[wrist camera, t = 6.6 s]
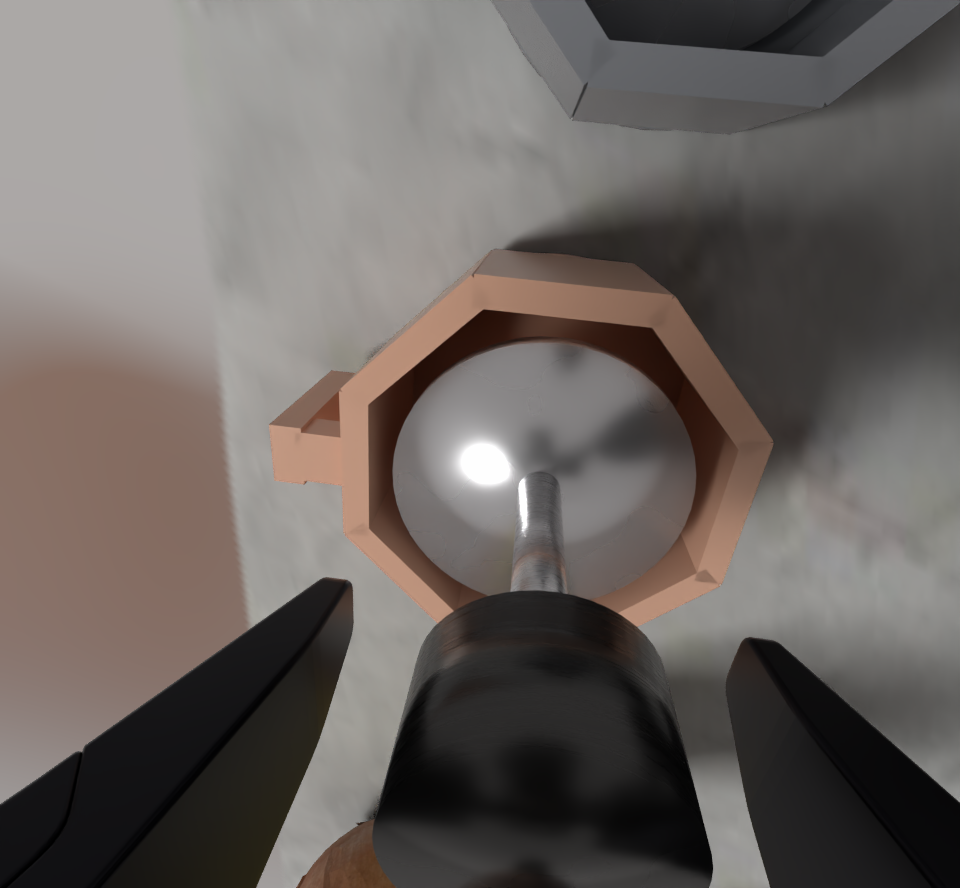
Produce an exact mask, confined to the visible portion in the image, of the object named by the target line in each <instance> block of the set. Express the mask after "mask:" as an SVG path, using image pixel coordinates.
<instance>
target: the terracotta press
mask: <svg viewBox="0 0 960 888" xmlns="http://www.w3.org/2000/svg"><path fill="white" fill-rule="evenodd" d="M535 336H549V337H564V338H569V339H575V340H581V341H585V342H588V343H591V344H594V345H597V346H601V347H604V348H606V349H608V350H610V351H612V352H614V353H616V354H618V355H620V356H622V357H624V358H626V359H627V360H629V361H630V362H632V363H633V364H635V365H636V366H638V367H639V368H640V369H642V370H643V371H644V372H645V373H646V374H647V375H648V376H650V377H651V378H652V379H653V380H654V381H655V382H656V383H657V384H658V386H659V387H660V388H661V389H662V390H663V391H664V393H665V394H666V395H667V396H668V398H669V400H670V401H671V403H672V404H673V406H674V408H675V409H676V411H677V412H678V414H679V416H680V417H681V419H682V421H683V423H684V425H685V427H686V430H687V432H688V435H689V437H690V440H691V444H692V448H693V452H694V456H695V465H696V486H695V495H694V499H693V503H692V508H691V511H690V514H689V516H688V519H687V521H686V524H685V526H684V528H683V530H682V531H681V533H680V535H679V537H678V538H677V540H676V542H675V543H674V544H673V545H672V547H671V548H670V549H669V551H668V552H667V553H666V554H665V556H664V557H662V558H661V559H660V560H659V561H658V562H657V563H656V564H655V565H654V566H653V567H652V568H651V569H650V570H648V571H647V572H646V573H645V574H643V575H642V576H641V577H639V578H638V579H636V580H634V581H633V582H631V583H629V584H628V585H626V586H624V587H622V588H620V589H618V590H616V591H614V592H611V593H609V594H607V595H604V596H601V597H598V598H594V599H591V601H594V602H596V603H598V604H601V605H603V606H605V607H608V608H609V609H611V610H613V611H615V612H616V613H618V614H620V615H622V616H623V617H625V618H626V619H627V620H629V621H630V622H631V623H633V624H634V625H635V626H636V627H638V626H640V625H642V624H644V623H646V622H648V621H650V620H652V619H654V618H656V617H658V616H660V615H662V614H664V613H666V612H668V611H670V610H673V609H675V608H677V607H679V606H681V605H683V604H685V603H687V602H689V601H691V600H693V599H695V598H697V597H699V596H701V595H703V594H705V593H707V592H709V591H711V590H713V589H715V588H718V587H720V585H719V584H721V585H722V583H723V580H724V577H725V574H726V572H727V569H728V566H729V564H730V561H731V558H732V556H733V553H734V550H735V547H736V545H737V542H738V539H739V537H740V534H741V531H742V529H743V526H744V523H745V520H746V518H747V515H748V512H749V510H750V507H751V504H752V502H753V499H754V496H755V493H756V491H757V488H758V485H759V483H760V480H761V477H762V475H763V472H764V469H765V466H766V464H767V461H768V458H769V456H770V453H771V450H772V448H773V445H774V443H773V439H772V438H771V437H770V435H769V434H768V432H767V431H766V429H765V428H764V426H763V425H762V423H761V422H760V420H759V419H758V417H757V416H756V414H755V413H754V411H753V410H752V409H751V407H750V406H749V404H748V403H747V401H746V400H745V398H744V397H743V395H742V394H741V392H740V391H739V389H738V388H737V386H736V385H735V383H734V382H733V381H732V379H731V378H730V376H729V375H728V373H727V372H726V370H725V369H724V367H723V366H722V364H721V363H720V361H719V360H718V358H717V357H716V355H715V354H714V353H713V351H712V350H711V348H710V347H709V345H708V344H707V342H706V341H705V339H704V338H703V336H702V335H701V333H700V332H699V330H698V329H697V327H696V326H695V325H694V323H693V322H692V320H691V319H690V317H689V316H688V314H687V313H686V311H685V310H684V308H683V307H682V305H681V304H680V302H679V301H678V299H677V298H676V297H675V296H674V295H673V294H672V293H670V292H669V291H668V290H667V289H665V288H664V287H663V286H662V285H661V284H659V283H658V282H657V281H656V280H654V279H653V278H652V277H651V276H649V275H648V274H647V273H646V272H644V271H643V270H642V269H641V268H639V267H638V266H637V265H636V264H634V263H627V262H617V261H607V260H598V259H588V258H585V257H581V256H575V255H569V254H563V253H530V252H520V251H511V250H501V249H494V250H491V251H490V252H489V253H487V254H486V255H485V256H484V257H483V258H482V259H481V260H479V261H478V262H477V263H476V264H475V265H474V266H473V267H471V268H470V269H469V270H468V271H467V272H466V273H465V274H463V275H462V276H461V277H460V278H459V279H458V280H457V281H455V282H454V283H453V284H452V285H451V286H450V287H448V288H447V289H446V290H444V291H443V292H442V293H441V294H440V295H439V296H438V297H437V298H436V299H435V300H434V301H433V302H431V303H430V304H429V305H428V306H427V307H426V308H425V309H423V310H422V311H421V312H420V313H419V314H418V315H417V316H415V317H414V318H413V319H412V320H411V321H410V322H409V323H407V324H406V325H405V326H404V327H403V328H402V329H401V330H399V331H398V332H397V333H396V334H395V335H394V336H393V337H392V338H391V339H390V340H389V341H388V342H387V343H386V344H385V345H384V346H383V347H382V348H381V349H380V350H379V351H378V352H377V353H376V354H375V355H374V356H373V357H372V358H371V359H370V360H369V361H368V362H367V363H366V364H365V365H364V366H363V367H362V368H361V369H360V370H359V371H358V372H356V373H349V372H340V371H331V372H329V373H328V374H327V375H326V376H325V377H324V378H322V379H321V380H320V381H319V382H318V383H317V384H315V385H314V386H313V387H312V388H311V389H310V390H309V391H307V392H306V393H305V394H304V395H303V396H302V397H300V398H299V399H298V400H297V401H296V402H295V403H294V404H292V405H291V406H290V407H289V408H288V409H287V410H285V411H284V412H283V413H282V414H281V415H280V416H278V417H277V418H276V419H275V420H274V421H273V422H272V423H270V424H269V429H270V439H271V449H272V459H273V470H274V480H275V481H282V482H289V483H297V484H305V483H306V482H307V481H310V482H318V483H326V484H333V485H341V486H342V498H343V528H344V533H346V534H345V536H346V537H347V538H348V539H349V540H350V541H351V542H352V543H354V544H355V545H356V546H357V547H358V548H359V549H360V550H361V551H362V552H363V553H364V554H365V555H366V556H367V557H368V558H369V559H370V560H371V561H373V562H374V563H375V564H376V565H377V566H378V567H379V568H380V569H381V570H382V571H383V572H384V573H385V574H386V575H387V576H388V577H389V578H390V579H391V580H393V581H394V582H395V583H396V584H397V585H398V586H399V587H400V588H401V589H402V590H403V591H404V592H405V593H406V594H407V595H408V596H409V597H410V598H412V599H413V600H414V601H415V602H416V603H417V604H418V605H419V606H420V607H421V608H422V609H423V610H424V611H425V612H426V613H427V614H428V615H429V616H431V617H432V618H433V619H434V620H435V621H436V622H437V623H439V622H440V621H441V620H442V619H443V618H444V617H446V616H447V615H449V614H450V613H452V612H453V611H455V610H456V609H458V608H460V607H462V606H464V605H466V604H468V603H470V602H472V601H475V600H478V599H481V598H483V597H486V596H487V595H485V594H483V593H480V592H478V591H475V590H473V589H471V588H469V587H467V586H465V585H464V584H462V583H460V582H458V581H456V580H455V579H453V578H452V577H451V576H449V575H448V574H446V573H445V572H443V571H442V570H441V569H440V568H439V567H438V566H437V565H435V564H434V563H433V562H432V561H431V560H430V559H429V558H428V557H427V556H426V555H425V554H424V552H423V551H422V550H421V549H420V548H419V547H418V545H417V544H416V542H415V541H414V539H413V538H412V536H411V535H410V533H409V531H408V530H407V528H406V526H405V524H404V522H403V520H402V517H401V514H400V512H399V509H398V506H397V503H396V498H395V493H394V488H393V472H392V471H393V460H394V452H395V448H396V444H397V440H398V436H399V434H400V432H401V429H402V427H403V424H404V422H405V420H406V418H407V417H408V415H409V413H410V411H411V410H412V408H413V406H414V405H415V403H416V401H417V400H418V398H419V396H420V395H421V394H422V393H423V391H424V390H425V389H426V388H427V387H428V385H429V384H430V383H431V382H432V381H433V380H434V379H435V378H436V377H437V376H438V375H439V374H441V373H442V372H443V371H444V370H445V369H446V368H448V367H449V366H451V365H452V364H453V363H455V362H456V361H458V360H459V359H461V358H462V357H464V356H466V355H468V354H470V353H472V352H474V351H476V350H478V349H481V348H483V347H486V346H489V345H492V344H495V343H498V342H502V341H506V340H511V339H516V338H523V337H535Z"/></svg>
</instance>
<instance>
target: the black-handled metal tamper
mask: <svg viewBox="0 0 960 888" xmlns="http://www.w3.org/2000/svg"><path fill="white" fill-rule="evenodd" d="M392 472H393V488H394V493H395V498H396V503H397V506H398V509H399V512H400V514H401V517H402V520H403V522H404V524H405V526H406V528H407V530H408V531H409V533H410V535H411V536H412V538H413V539H414V541H415V542H416V544H417V545H418V547H419V548H420V549H421V550H422V551H423V552H424V554H425V555H426V556H427V557H428V558H429V559H430V560H431V561H432V562H433V563H434V564H435V565H437V566H438V567H439V568H440V569H441V570H442V571H443V572H445V573H446V574H448V575H449V576H451V577H452V578H453V579H455V580H456V581H458V582H460V583H462V584H464V585H465V586H467V587H469V588H471V589H473V590H475V591H478V592H480V593H483V594H485V595H487V596H486V597H483V598H481V599H478V600H475V601H472V602H470V603H468V604H466V605H464V606H462V607H460V608H458V609H456V610H455V611H453V612H452V613H450V614H449V615H447V616H446V617H444V618H443V619H442V620H441V621H440V622H439V623H438V624H437V625H436V626H435V627H434V628H433V629H432V631H431V632H430V633H429V634H428V636H427V637H426V639H425V641H424V643H423V644H422V646H421V649H420V652H419V655H418V658H417V662H416V665H415V669H414V673H413V677H412V680H411V684H410V688H409V692H408V696H407V699H406V703H405V707H404V711H403V714H402V718H401V722H400V726H399V729H398V733H397V737H396V741H395V745H394V748H393V752H392V756H391V760H390V763H389V767H388V771H387V775H386V779H385V782H384V786H383V790H382V794H381V797H380V801H379V805H378V809H377V812H376V816H375V820H374V824H373V832H372V841H373V849H374V852H375V855H376V858H377V861H378V863H379V865H380V866H381V868H382V870H383V872H384V873H385V875H386V876H387V877H388V879H389V880H390V881H391V882H392V884H393V885H394V886H395V887H396V888H709V886H710V883H711V880H712V873H713V862H712V854H711V850H710V846H709V842H708V838H707V834H706V831H705V827H704V823H703V819H702V815H701V811H700V807H699V803H698V799H697V795H696V791H695V787H694V783H693V780H692V776H691V772H690V768H689V764H688V760H687V756H686V752H685V748H684V744H683V740H682V736H681V732H680V729H679V725H678V721H677V717H676V713H675V709H674V705H673V701H672V697H671V693H670V689H669V685H668V682H667V678H666V674H665V670H664V667H663V664H662V661H661V658H660V656H659V655H658V653H657V651H656V649H655V647H654V646H653V645H652V643H651V642H650V641H649V639H648V638H647V637H646V635H645V634H643V633H642V632H641V631H640V630H639V629H638V628H637V627H636V626H635V625H634V624H633V623H631V622H630V621H629V620H627V619H626V618H625V617H623V616H622V615H620V614H618V613H616V612H615V611H613V610H611V609H609V608H608V607H605V606H603V605H601V604H598V603H596V602H594V601H591V599H594V598H598V597H601V596H604V595H607V594H609V593H611V592H614V591H616V590H618V589H620V588H622V587H624V586H626V585H628V584H629V583H631V582H633V581H634V580H636V579H638V578H639V577H641V576H642V575H643V574H645V573H646V572H647V571H648V570H650V569H651V568H652V567H653V566H654V565H655V564H656V563H657V562H658V561H659V560H660V559H661V558H662V557H664V556H665V554H666V553H667V552H668V551H669V549H670V548H671V547H672V545H673V544H674V543H675V542H676V540H677V538H678V537H679V535H680V533H681V531H682V530H683V528H684V526H685V524H686V521H687V519H688V516H689V514H690V511H691V508H692V503H693V499H694V495H695V486H696V465H695V456H694V452H693V448H692V444H691V440H690V437H689V435H688V432H687V430H686V427H685V425H684V423H683V421H682V419H681V417H680V416H679V414H678V412H677V411H676V409H675V408H674V406H673V404H672V403H671V401H670V400H669V398H668V396H667V395H666V394H665V393H664V391H663V390H662V389H661V388H660V387H659V386H658V384H657V383H656V382H655V381H654V380H653V379H652V378H651V377H650V376H648V375H647V374H646V373H645V372H644V371H643V370H642V369H640V368H639V367H638V366H636V365H635V364H633V363H632V362H630V361H629V360H627V359H626V358H624V357H622V356H620V355H618V354H616V353H614V352H612V351H610V350H608V349H606V348H604V347H601V346H597V345H594V344H591V343H588V342H585V341H581V340H575V339H569V338H564V337H549V336H535V337H523V338H516V339H511V340H506V341H502V342H498V343H495V344H492V345H489V346H486V347H483V348H481V349H478V350H476V351H474V352H472V353H470V354H468V355H466V356H464V357H462V358H461V359H459V360H458V361H456V362H455V363H453V364H452V365H451V366H449V367H448V368H446V369H445V370H444V371H443V372H442V373H441V374H439V375H438V376H437V377H436V378H435V379H434V380H433V381H432V382H431V383H430V384H429V385H428V387H427V388H426V389H425V390H424V391H423V393H422V394H421V395H420V396H419V398H418V400H417V401H416V403H415V405H414V406H413V408H412V410H411V411H410V413H409V415H408V417H407V418H406V420H405V422H404V424H403V427H402V429H401V432H400V434H399V436H398V440H397V444H396V448H395V452H394V460H393V471H392Z"/></svg>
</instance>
